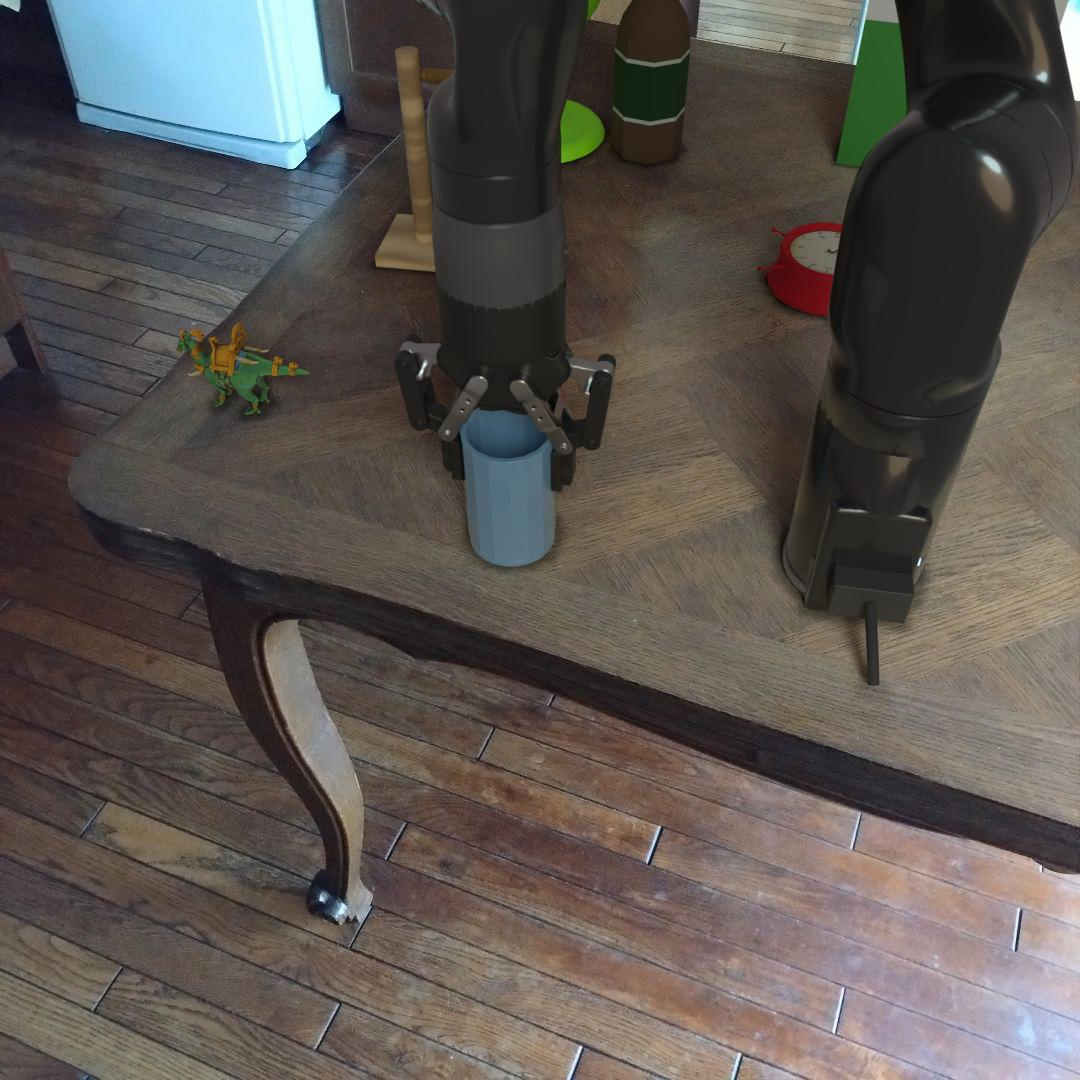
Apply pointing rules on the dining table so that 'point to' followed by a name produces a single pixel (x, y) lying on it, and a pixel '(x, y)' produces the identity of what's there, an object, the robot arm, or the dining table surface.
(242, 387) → the figurine
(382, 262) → the mug stand
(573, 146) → the wineglass
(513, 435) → the mug
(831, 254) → the alarm clock
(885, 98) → the hardback book
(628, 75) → the beer bottle
